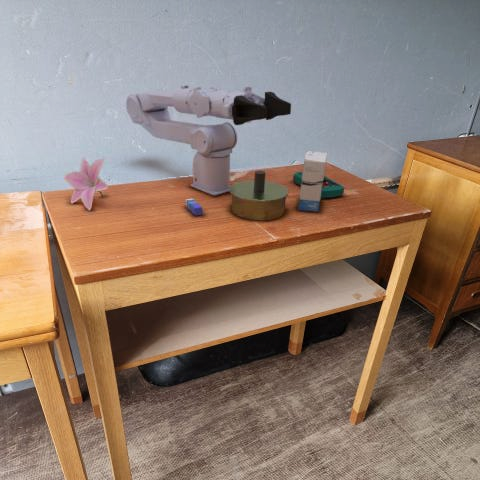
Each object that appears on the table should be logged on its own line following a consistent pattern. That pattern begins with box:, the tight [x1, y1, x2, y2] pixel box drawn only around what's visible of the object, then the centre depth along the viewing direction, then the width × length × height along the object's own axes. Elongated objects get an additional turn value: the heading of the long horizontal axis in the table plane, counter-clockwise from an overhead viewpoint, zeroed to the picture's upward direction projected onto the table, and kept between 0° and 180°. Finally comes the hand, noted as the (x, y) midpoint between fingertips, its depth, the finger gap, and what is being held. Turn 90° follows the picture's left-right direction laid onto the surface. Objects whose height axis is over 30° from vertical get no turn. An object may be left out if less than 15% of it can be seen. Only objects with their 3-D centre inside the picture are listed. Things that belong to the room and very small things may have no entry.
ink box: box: [297, 150, 328, 213], centre depth 104 cm, size 8×5×12 cm, turn 168°
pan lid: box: [229, 170, 289, 202], centre depth 100 cm, size 14×14×5 cm
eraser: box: [185, 198, 203, 217], centre depth 101 cm, size 2×6×2 cm, turn 24°
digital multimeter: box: [292, 171, 345, 200], centre depth 117 cm, size 7×15×3 cm, turn 23°
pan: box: [231, 194, 287, 221], centre depth 103 cm, size 12×12×4 cm
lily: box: [63, 156, 109, 211], centre depth 103 cm, size 12×12×10 cm
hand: (277, 110), depth 91 cm, fingers open, 7 cm apart
